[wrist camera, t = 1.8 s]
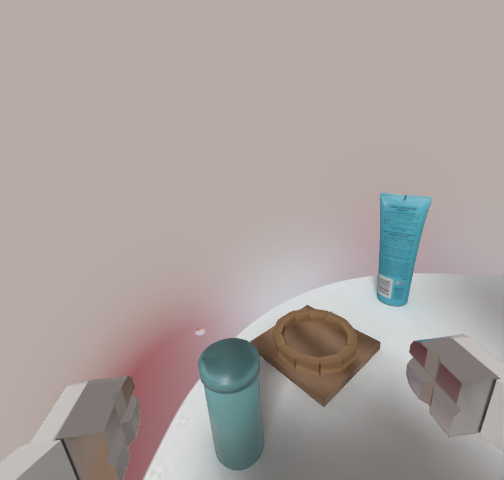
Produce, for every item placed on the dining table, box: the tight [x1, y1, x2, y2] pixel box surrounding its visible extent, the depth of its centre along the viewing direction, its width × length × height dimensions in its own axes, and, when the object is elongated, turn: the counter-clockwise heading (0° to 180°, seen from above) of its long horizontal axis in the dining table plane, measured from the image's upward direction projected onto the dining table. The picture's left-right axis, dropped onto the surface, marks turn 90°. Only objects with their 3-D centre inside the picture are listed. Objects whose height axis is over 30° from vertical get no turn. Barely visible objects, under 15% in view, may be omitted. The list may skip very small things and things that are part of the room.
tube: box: [377, 193, 432, 306], centre depth 46 cm, size 7×5×19 cm, turn 53°
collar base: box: [251, 305, 380, 407], centre depth 39 cm, size 13×13×3 cm
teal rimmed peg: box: [198, 338, 264, 470], centre depth 26 cm, size 5×5×11 cm
